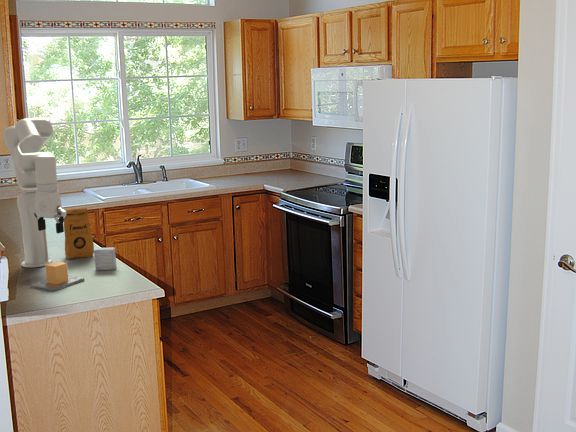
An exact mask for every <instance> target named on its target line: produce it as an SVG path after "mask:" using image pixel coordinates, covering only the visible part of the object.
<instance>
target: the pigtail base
mask: <svg viewBox="0 0 576 432" xmlns="http://www.w3.org/2000/svg"><path fill="white" fill-rule="evenodd" d="M84 281H85V278H84V277H79V276H73V275H69V274H68V281H65V282H63V283H60V284H52V283H47V279H45V280H42V281H39V282H36V283H33V284H30V285H29V286H30V288H31V289H36V290H41V291H47V292H55V291H58V290H62V289H64V288H67V287H70V286H73V285H76V284H79V283H81V282H84Z"/></svg>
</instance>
